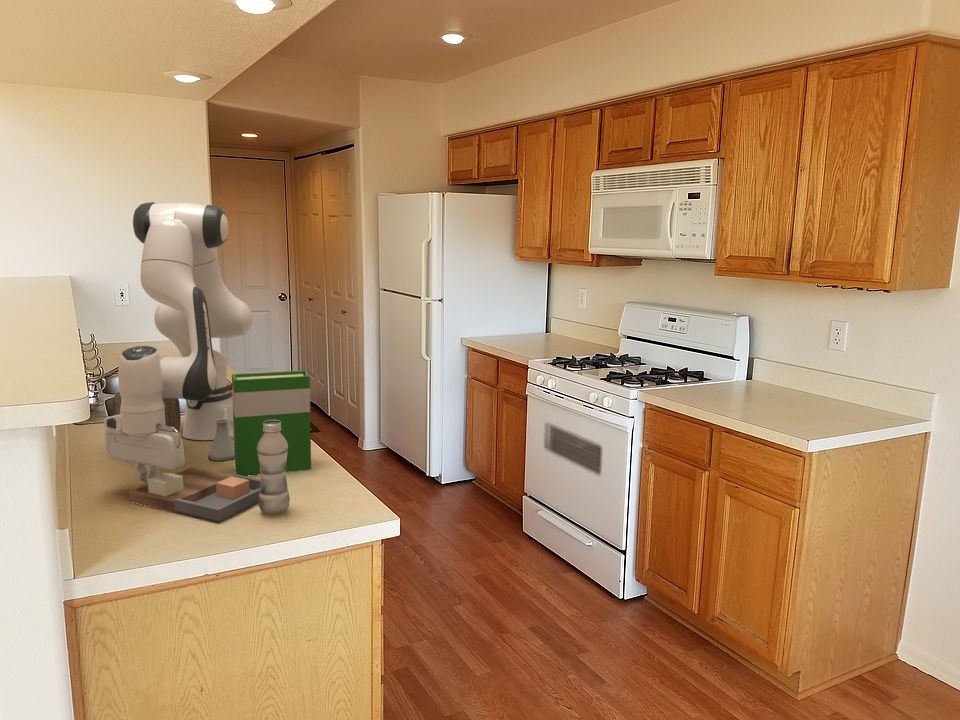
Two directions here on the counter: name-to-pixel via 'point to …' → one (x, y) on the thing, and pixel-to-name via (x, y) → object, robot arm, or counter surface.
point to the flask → (222, 443)
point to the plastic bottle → (273, 469)
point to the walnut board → (194, 488)
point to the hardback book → (271, 417)
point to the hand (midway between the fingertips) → (147, 481)
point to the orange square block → (232, 487)
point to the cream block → (165, 484)
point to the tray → (220, 504)
